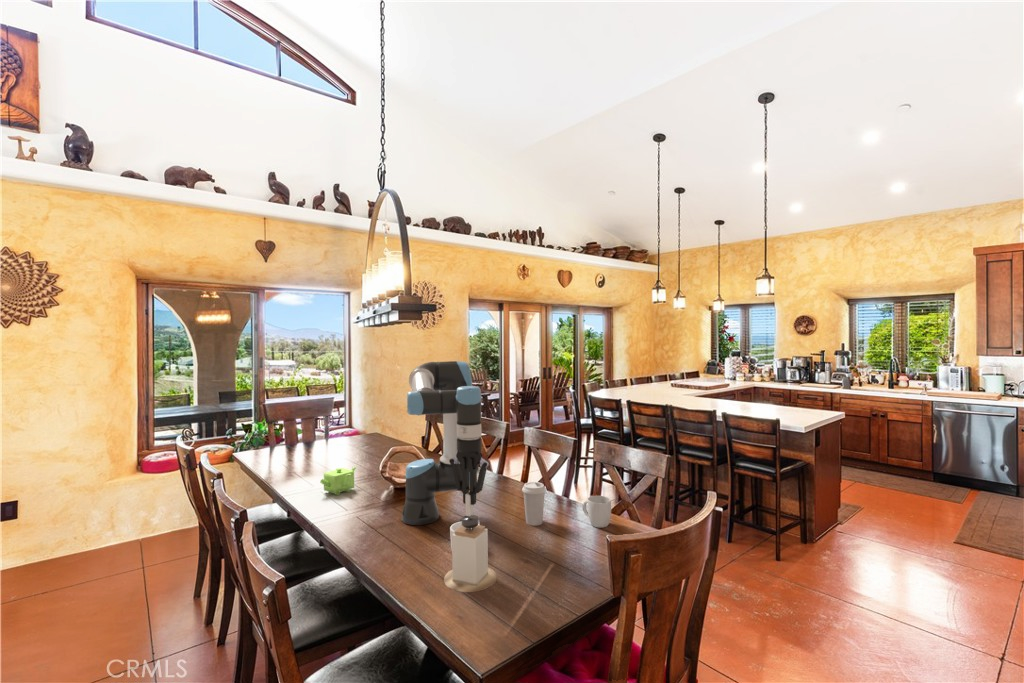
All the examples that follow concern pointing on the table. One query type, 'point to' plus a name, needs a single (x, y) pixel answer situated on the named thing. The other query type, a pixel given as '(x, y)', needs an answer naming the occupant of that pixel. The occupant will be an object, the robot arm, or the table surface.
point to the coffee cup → (534, 502)
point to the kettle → (338, 480)
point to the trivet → (461, 587)
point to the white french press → (470, 555)
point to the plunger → (469, 521)
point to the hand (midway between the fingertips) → (469, 514)
